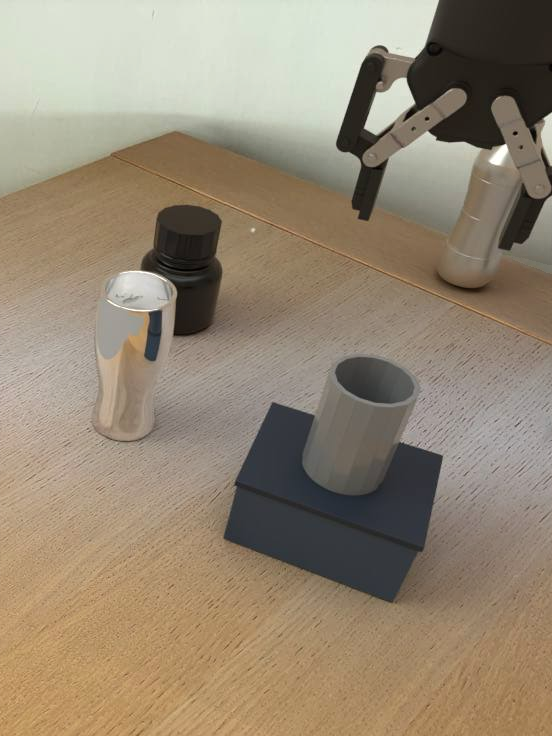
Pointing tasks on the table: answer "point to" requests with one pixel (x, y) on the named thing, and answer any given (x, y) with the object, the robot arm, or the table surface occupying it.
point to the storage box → (332, 510)
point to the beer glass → (131, 350)
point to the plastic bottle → (481, 219)
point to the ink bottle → (188, 262)
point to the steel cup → (359, 423)
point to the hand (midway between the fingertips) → (432, 229)
